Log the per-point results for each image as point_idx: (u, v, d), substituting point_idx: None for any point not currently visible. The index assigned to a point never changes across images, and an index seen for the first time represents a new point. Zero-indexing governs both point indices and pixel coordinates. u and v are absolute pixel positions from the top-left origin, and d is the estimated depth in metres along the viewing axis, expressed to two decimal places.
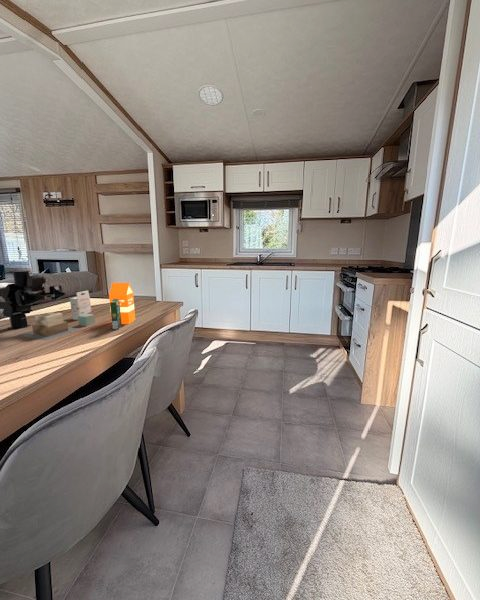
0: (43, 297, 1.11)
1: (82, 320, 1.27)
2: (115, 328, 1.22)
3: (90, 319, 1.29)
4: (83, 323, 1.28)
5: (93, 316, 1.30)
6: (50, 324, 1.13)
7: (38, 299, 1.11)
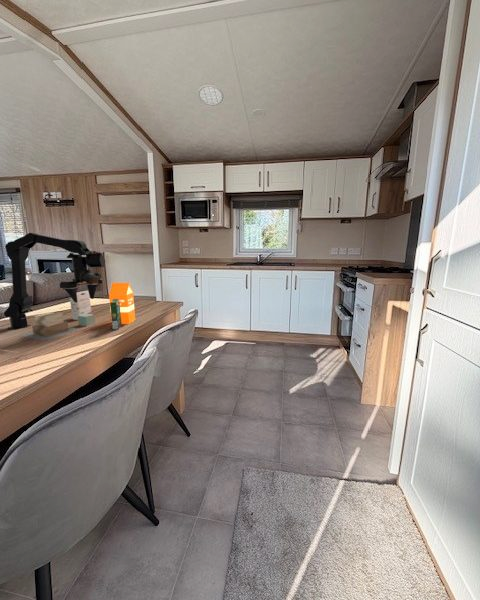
0: (75, 301, 1.23)
1: (82, 320, 1.27)
2: (115, 328, 1.22)
3: (90, 319, 1.29)
4: (83, 323, 1.28)
5: (93, 316, 1.30)
6: (50, 324, 1.13)
7: (72, 297, 1.23)
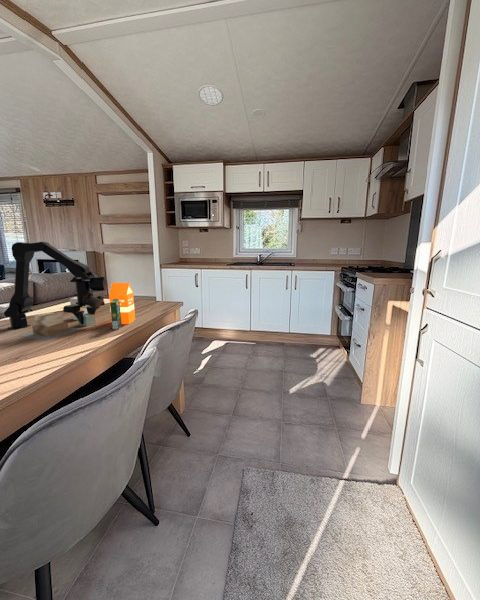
0: (82, 323, 1.27)
1: None
2: (115, 328, 1.22)
3: (90, 319, 1.29)
4: None
5: (93, 316, 1.30)
6: (50, 324, 1.13)
7: (78, 320, 1.27)
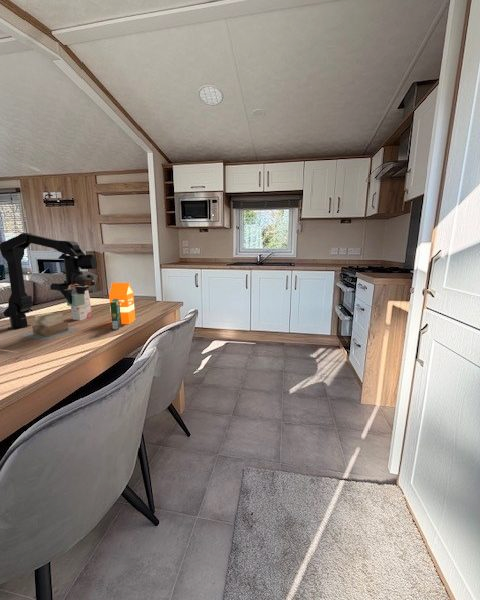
0: (70, 303, 1.22)
1: None
2: (115, 328, 1.22)
3: (79, 298, 1.24)
4: None
5: (82, 295, 1.25)
6: (50, 324, 1.13)
7: (67, 299, 1.21)
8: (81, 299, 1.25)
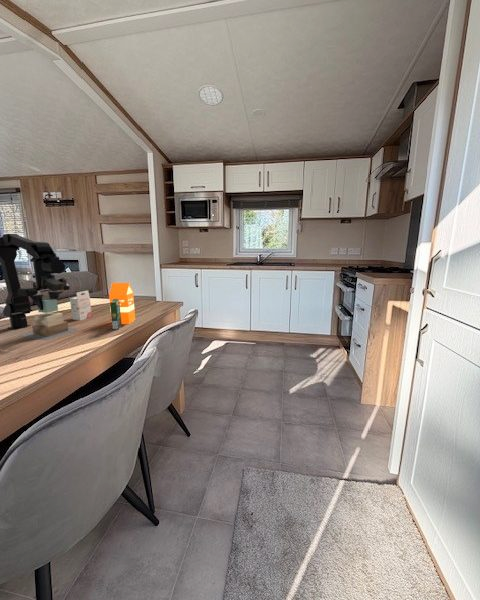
0: (41, 309, 1.13)
1: None
2: (115, 328, 1.22)
3: (51, 304, 1.14)
4: None
5: (55, 301, 1.16)
6: (50, 324, 1.13)
7: (37, 305, 1.12)
8: (54, 305, 1.15)
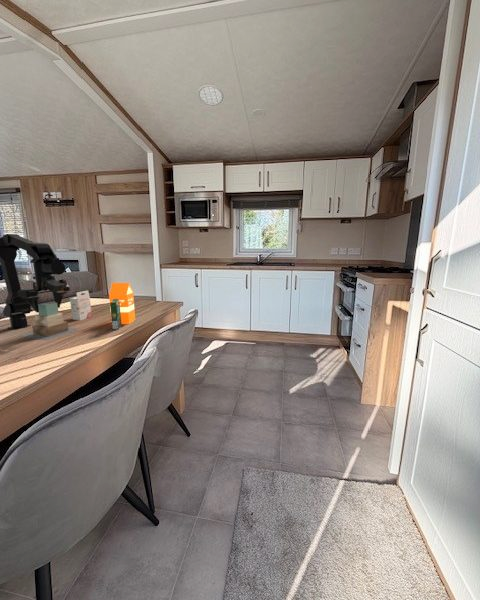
0: (37, 311, 1.11)
1: (42, 309, 1.13)
2: (115, 328, 1.22)
3: (51, 307, 1.14)
4: (43, 312, 1.13)
5: (55, 304, 1.16)
6: (50, 324, 1.13)
7: (33, 307, 1.10)
8: (54, 308, 1.15)
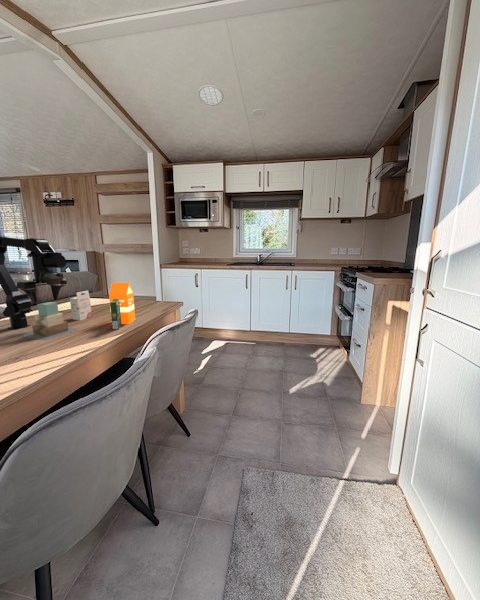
0: (34, 303, 1.17)
1: (42, 309, 1.13)
2: (115, 328, 1.22)
3: (51, 307, 1.14)
4: (43, 312, 1.13)
5: (55, 304, 1.16)
6: (50, 324, 1.13)
7: (31, 298, 1.16)
8: (54, 308, 1.15)
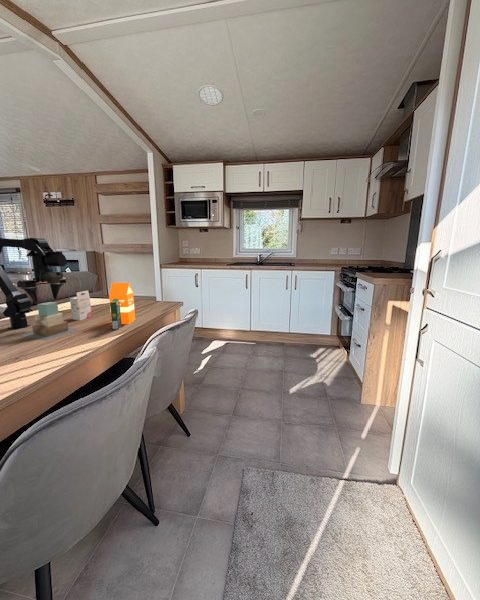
0: (35, 302, 1.19)
1: (42, 309, 1.13)
2: (115, 328, 1.22)
3: (51, 307, 1.14)
4: (43, 312, 1.13)
5: (55, 304, 1.16)
6: (50, 324, 1.13)
7: (31, 297, 1.18)
8: (54, 308, 1.15)
